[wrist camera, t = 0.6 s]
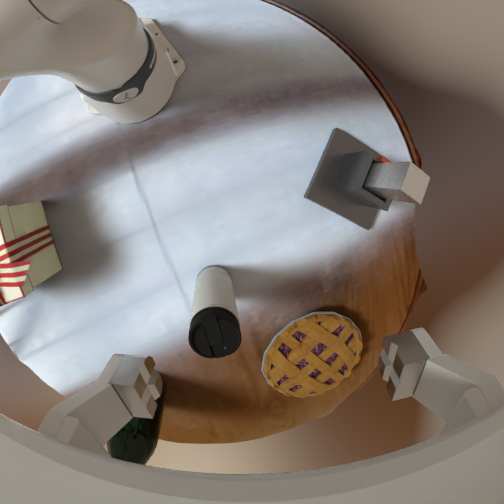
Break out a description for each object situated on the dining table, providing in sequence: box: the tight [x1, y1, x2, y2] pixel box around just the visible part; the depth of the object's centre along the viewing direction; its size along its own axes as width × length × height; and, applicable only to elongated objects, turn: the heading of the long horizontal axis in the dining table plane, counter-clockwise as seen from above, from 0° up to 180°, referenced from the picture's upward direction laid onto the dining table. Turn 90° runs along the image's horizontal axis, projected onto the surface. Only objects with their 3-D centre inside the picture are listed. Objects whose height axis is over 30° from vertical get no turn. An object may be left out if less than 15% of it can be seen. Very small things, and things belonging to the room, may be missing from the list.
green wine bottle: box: [107, 381, 167, 465], centre depth 38 cm, size 10×10×33 cm
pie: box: [261, 312, 363, 398], centre depth 54 cm, size 22×22×5 cm
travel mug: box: [189, 266, 242, 358], centre depth 40 cm, size 6×7×20 cm
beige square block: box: [362, 162, 430, 204], centre depth 38 cm, size 4×4×17 cm
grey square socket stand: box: [304, 128, 392, 230], centre depth 43 cm, size 14×14×11 cm
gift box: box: [0, 201, 62, 306], centre depth 34 cm, size 17×18×17 cm
